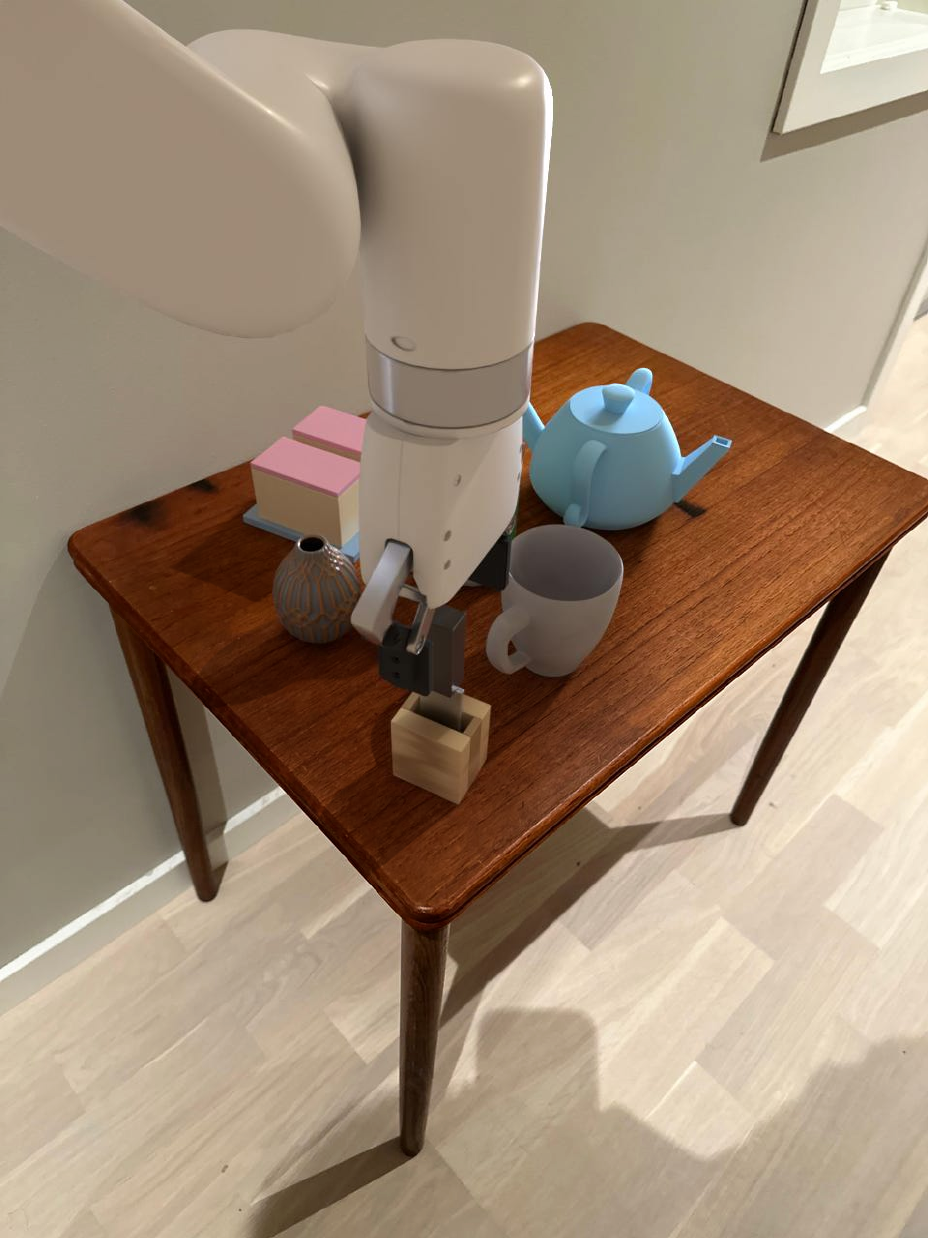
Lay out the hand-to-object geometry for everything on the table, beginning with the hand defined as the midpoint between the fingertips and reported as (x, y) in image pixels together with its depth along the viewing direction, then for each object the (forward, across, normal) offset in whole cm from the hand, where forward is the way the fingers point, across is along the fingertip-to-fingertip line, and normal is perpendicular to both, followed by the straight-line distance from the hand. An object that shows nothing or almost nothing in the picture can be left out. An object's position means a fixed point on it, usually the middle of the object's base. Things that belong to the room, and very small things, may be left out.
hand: (447, 630), depth 52 cm
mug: (+14, -12, +2) cm, 19 cm away
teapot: (+14, -36, -2) cm, 39 cm away
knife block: (+14, 0, 0) cm, 14 cm away
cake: (+14, -21, -23) cm, 34 cm away
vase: (+14, -7, -16) cm, 22 cm away
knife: (+14, 0, 0) cm, 14 cm away
